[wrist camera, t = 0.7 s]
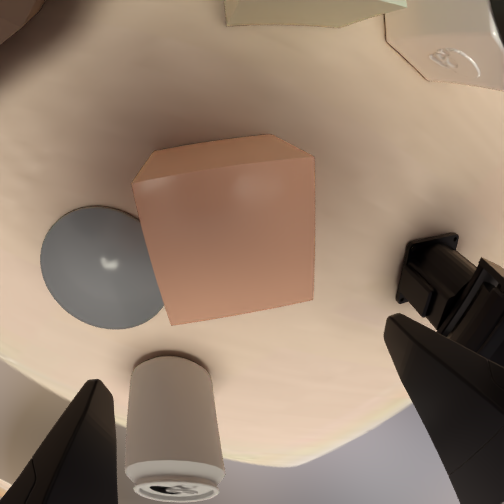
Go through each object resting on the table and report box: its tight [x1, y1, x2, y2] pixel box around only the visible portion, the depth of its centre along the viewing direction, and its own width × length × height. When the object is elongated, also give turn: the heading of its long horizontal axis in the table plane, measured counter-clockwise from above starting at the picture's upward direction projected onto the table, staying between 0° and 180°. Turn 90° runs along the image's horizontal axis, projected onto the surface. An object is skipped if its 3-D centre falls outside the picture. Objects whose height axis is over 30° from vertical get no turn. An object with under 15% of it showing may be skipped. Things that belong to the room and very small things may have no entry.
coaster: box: [40, 206, 164, 329], centre depth 19 cm, size 10×10×1 cm
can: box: [125, 356, 225, 502], centre depth 21 cm, size 8×8×12 cm
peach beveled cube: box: [131, 134, 315, 326], centre depth 16 cm, size 7×7×7 cm
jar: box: [385, 0, 504, 91], centre depth 9 cm, size 9×8×12 cm
